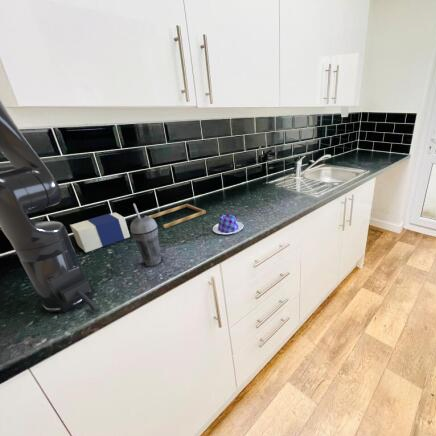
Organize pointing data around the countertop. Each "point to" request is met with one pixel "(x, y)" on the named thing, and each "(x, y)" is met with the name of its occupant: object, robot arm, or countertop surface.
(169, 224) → the oak frame
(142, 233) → the beverage cup
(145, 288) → the countertop surface
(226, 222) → the pudding
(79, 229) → the eraser
